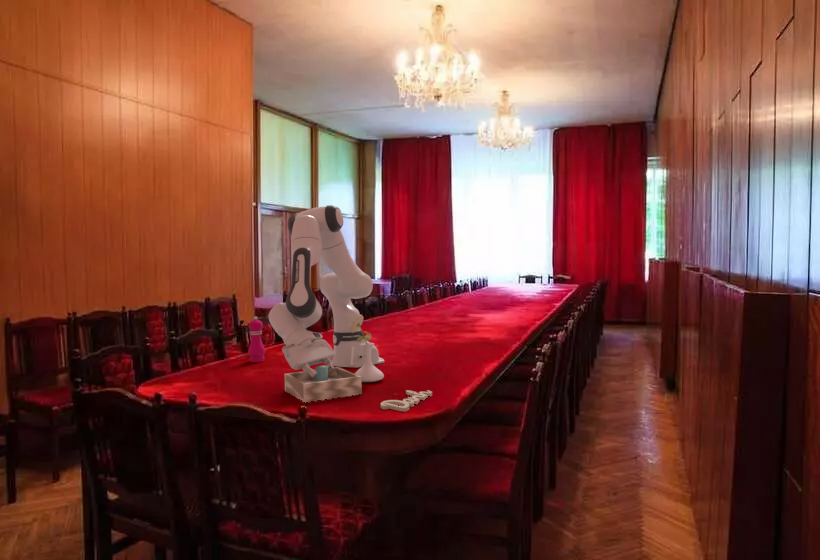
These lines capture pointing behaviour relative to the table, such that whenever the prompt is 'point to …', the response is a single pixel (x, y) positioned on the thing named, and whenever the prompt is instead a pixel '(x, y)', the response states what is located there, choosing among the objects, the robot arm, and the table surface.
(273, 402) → the table surface
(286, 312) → the robot arm
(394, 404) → the decorative sign
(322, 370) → the peg
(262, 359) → the pepper mill
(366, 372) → the flower in vase
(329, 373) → the bore box
